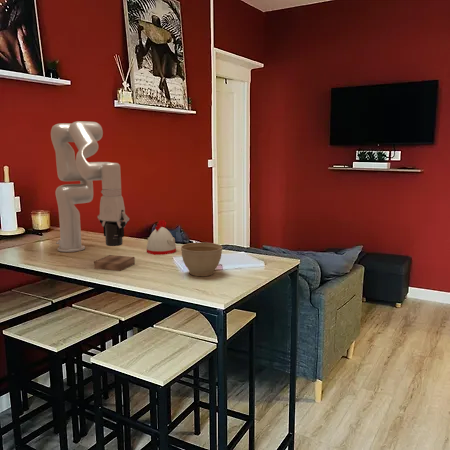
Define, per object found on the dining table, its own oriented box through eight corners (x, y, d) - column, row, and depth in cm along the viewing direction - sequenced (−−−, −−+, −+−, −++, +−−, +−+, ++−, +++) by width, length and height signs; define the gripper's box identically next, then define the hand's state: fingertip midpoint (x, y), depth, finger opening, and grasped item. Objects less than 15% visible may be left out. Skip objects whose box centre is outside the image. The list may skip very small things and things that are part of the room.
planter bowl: (189, 281, 172) (188, 252, 170) (176, 270, 186) (175, 244, 185) (228, 276, 178) (228, 248, 176) (213, 266, 193) (213, 241, 191)
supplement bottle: (118, 246, 188) (117, 217, 186) (103, 246, 189) (101, 217, 187) (125, 243, 194) (124, 215, 192) (110, 243, 196) (109, 214, 194)
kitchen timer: (181, 250, 224) (181, 219, 221) (165, 256, 212) (164, 223, 209) (157, 247, 230) (157, 217, 228) (140, 252, 218) (139, 221, 216)
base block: (94, 268, 189) (94, 261, 189) (110, 261, 201) (109, 255, 200) (120, 270, 186) (120, 263, 185) (134, 263, 197) (134, 256, 197)
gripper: (89, 193, 189) (91, 236, 192) (122, 194, 181) (124, 239, 184) (102, 191, 195) (104, 233, 198) (134, 193, 188) (136, 236, 190)
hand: (113, 236), depth 191 cm, fingers closed on supplement bottle, 6 cm apart
